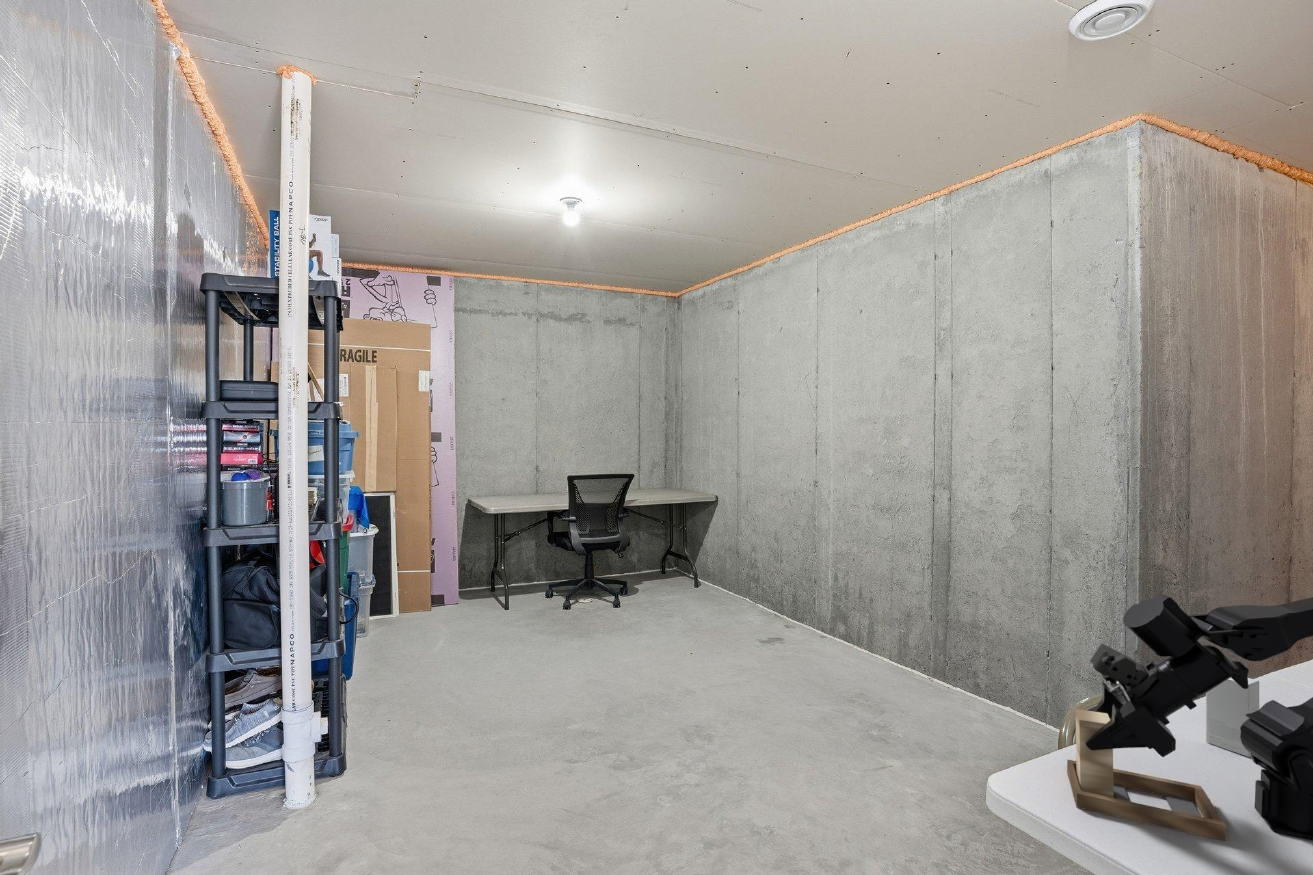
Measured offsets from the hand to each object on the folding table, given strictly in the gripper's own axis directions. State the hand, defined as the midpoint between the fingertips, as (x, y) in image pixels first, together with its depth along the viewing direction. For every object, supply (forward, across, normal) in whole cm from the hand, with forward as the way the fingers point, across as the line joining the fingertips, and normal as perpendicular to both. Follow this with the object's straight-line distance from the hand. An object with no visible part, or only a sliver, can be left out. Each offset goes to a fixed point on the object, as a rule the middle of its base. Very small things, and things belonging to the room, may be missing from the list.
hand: (1085, 738), depth 97 cm
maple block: (+4, 0, +6) cm, 8 cm away
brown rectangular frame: (+1, 0, +10) cm, 10 cm away
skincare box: (-12, -27, +23) cm, 38 cm away
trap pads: (-1, 0, +12) cm, 12 cm away
